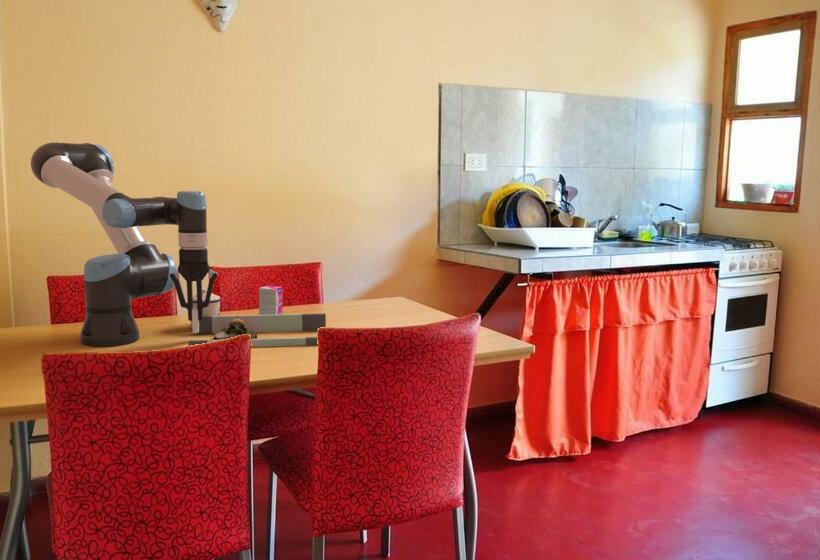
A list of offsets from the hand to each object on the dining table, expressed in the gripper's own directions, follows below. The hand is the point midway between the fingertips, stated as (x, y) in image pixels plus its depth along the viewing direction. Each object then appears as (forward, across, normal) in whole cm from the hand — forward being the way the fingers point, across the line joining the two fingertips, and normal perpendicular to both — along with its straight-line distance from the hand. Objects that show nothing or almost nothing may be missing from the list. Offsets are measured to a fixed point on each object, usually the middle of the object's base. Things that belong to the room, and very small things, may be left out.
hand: (195, 331), depth 201 cm
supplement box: (+3, +21, +20) cm, 29 cm away
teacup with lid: (+3, +1, +18) cm, 18 cm away
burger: (+3, +11, 0) cm, 11 cm away
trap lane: (+3, +18, 0) cm, 18 cm away
